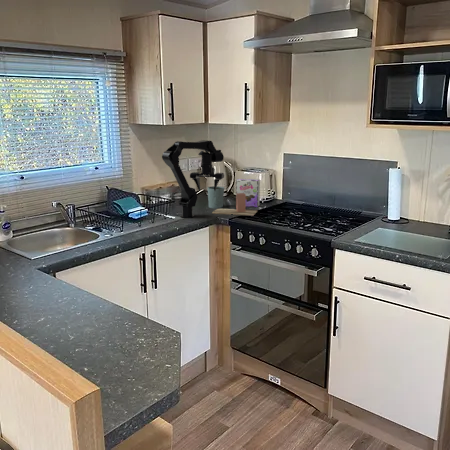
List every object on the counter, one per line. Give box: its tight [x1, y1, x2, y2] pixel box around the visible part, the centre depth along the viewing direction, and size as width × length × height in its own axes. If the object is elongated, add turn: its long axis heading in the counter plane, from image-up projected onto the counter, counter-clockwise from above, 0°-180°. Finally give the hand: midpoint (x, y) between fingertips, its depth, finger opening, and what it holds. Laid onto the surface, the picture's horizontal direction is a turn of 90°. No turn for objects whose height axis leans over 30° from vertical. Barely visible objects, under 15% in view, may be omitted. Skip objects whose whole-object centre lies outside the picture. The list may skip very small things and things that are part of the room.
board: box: [211, 208, 258, 217], centre depth 274 cm, size 12×24×1 cm, turn 75°
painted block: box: [235, 192, 247, 212], centre depth 274 cm, size 4×4×10 cm
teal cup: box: [207, 185, 225, 209], centre depth 289 cm, size 10×10×12 cm
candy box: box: [235, 178, 261, 208], centre depth 291 cm, size 14×6×16 cm, turn 73°
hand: (207, 190), depth 270 cm, fingers open, 9 cm apart
